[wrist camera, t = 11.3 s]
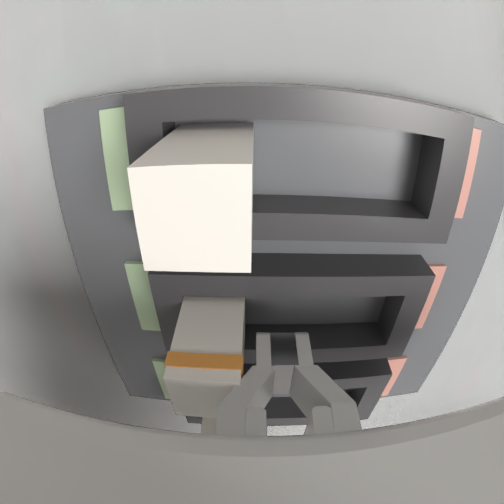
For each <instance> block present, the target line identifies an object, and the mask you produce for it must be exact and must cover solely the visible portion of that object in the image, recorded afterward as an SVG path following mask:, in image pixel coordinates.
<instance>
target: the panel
mask: <svg viewBox="0 0 504 504" xmlns="http://www.w3.org/2000/svg"><path fill="white" fill-rule="evenodd" d="M44 117H45V125H46V132H47V139H48V146H49V152H50V158H51V164H52V169H53V174H54V179H55V184H56V189H57V194H58V198H59V202H60V207H61V211H62V215H63V219H64V223H65V227H66V230H67V234H68V238H69V241H70V245H71V248H72V251H73V255H74V258H75V261H76V265H77V268H78V271H79V274H80V277H81V280H82V283H83V286H84V289H85V292H86V294H87V297H88V300H89V303H90V305H91V308H92V311H93V313H94V316H95V318H96V321H97V324H98V326H99V329H100V331H101V333H102V336H103V338H104V341H105V343H106V345H107V348H108V350H109V352H110V354H111V357H112V359H113V361H114V363H115V366H116V368H117V370H118V372H119V374H120V376H121V378H122V380H123V382H124V384H125V387H126V389H127V391H128V393H129V395H131V396H138V397H145V398H154V399H162V400H171V399H170V397H169V394H168V391H167V388H166V385H165V382H164V379H163V377H164V372H165V366H164V364H165V360H166V356H167V352H168V351H170V348H171V344H172V340H173V336H174V332H175V328H176V324H177V321H178V317H179V313H180V309H181V306H182V302H183V298H184V296H192V297H231V298H245V344H244V371H243V372H244V375H245V374H246V373H247V372H248V370H249V369H250V368H251V367H252V366H255V357H256V333H257V332H263V333H270V332H271V333H296V332H307V333H308V334H309V339H310V345H311V352H312V358H313V364H314V365H318V366H319V367H320V368H321V369H322V370H323V371H324V372H325V373H326V374H327V375H328V376H329V377H330V378H331V379H332V380H333V381H334V382H335V383H336V384H337V385H338V386H339V387H340V388H342V389H343V390H344V391H345V392H346V393H347V394H348V395H349V396H350V397H351V398H352V399H353V400H354V401H355V402H356V405H357V410H358V414H359V419H360V420H364V419H368V417H369V416H370V414H371V412H372V411H373V409H374V407H375V406H376V404H377V402H378V400H379V399H380V398H381V397H388V396H395V395H402V394H408V393H415V392H418V390H419V389H420V387H421V386H422V384H423V382H424V381H425V379H426V378H427V376H428V374H429V373H430V371H431V370H432V368H433V366H434V365H435V363H436V361H437V359H438V358H439V356H440V354H441V352H442V351H443V349H444V347H445V345H446V343H447V342H448V340H449V338H450V336H451V334H452V332H453V330H454V328H455V326H456V325H457V323H458V321H459V319H460V317H461V314H462V312H463V310H464V308H465V306H466V304H467V302H468V300H469V298H470V295H471V293H472V291H473V289H474V286H475V284H476V282H477V279H478V277H479V274H480V272H481V270H482V267H483V265H484V262H485V259H486V257H487V254H488V251H489V249H490V246H491V243H492V240H493V237H494V234H495V232H496V229H497V225H498V222H499V219H500V216H501V213H502V209H503V206H504V124H502V123H499V122H497V121H494V120H491V119H487V118H484V117H481V116H478V115H474V114H471V113H467V112H464V111H460V110H457V109H453V108H449V107H445V106H441V105H437V104H432V103H428V102H423V101H419V100H414V99H409V98H404V97H399V96H393V95H387V94H381V93H375V92H368V91H361V90H353V89H345V88H336V87H326V86H315V85H300V84H281V83H211V84H192V85H178V86H166V87H156V88H147V89H139V90H131V91H124V92H118V93H111V94H105V95H100V96H94V97H89V98H84V99H79V100H74V101H69V102H66V103H62V104H58V105H55V106H52V107H48V108H45V109H44ZM198 123H254V132H253V212H252V258H251V273H227V272H176V271H145V270H144V266H143V261H142V256H141V251H140V246H139V240H138V235H137V229H136V224H135V218H134V212H133V206H132V199H131V193H130V186H129V179H128V171H127V167H129V166H130V165H131V164H132V163H133V162H135V161H136V160H137V159H138V158H139V157H141V156H142V155H143V154H144V153H145V152H147V151H148V150H149V149H150V148H152V147H153V146H154V145H155V144H157V143H158V142H159V141H160V140H162V139H163V138H164V137H165V136H167V135H168V134H169V133H171V132H172V131H173V130H175V129H176V128H177V127H179V126H180V125H181V124H198ZM264 409H265V410H266V421H267V426H284V425H307V423H308V419H307V418H306V416H305V415H304V414H303V412H302V411H301V410H300V408H299V407H298V406H297V404H296V403H295V402H294V400H293V399H292V398H291V396H290V395H289V394H273V396H272V397H271V399H270V400H269V402H268V403H267V405H266V406H265V408H264ZM186 418H187V421H188V423H200V424H202V418H203V417H194V416H186Z"/></svg>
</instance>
